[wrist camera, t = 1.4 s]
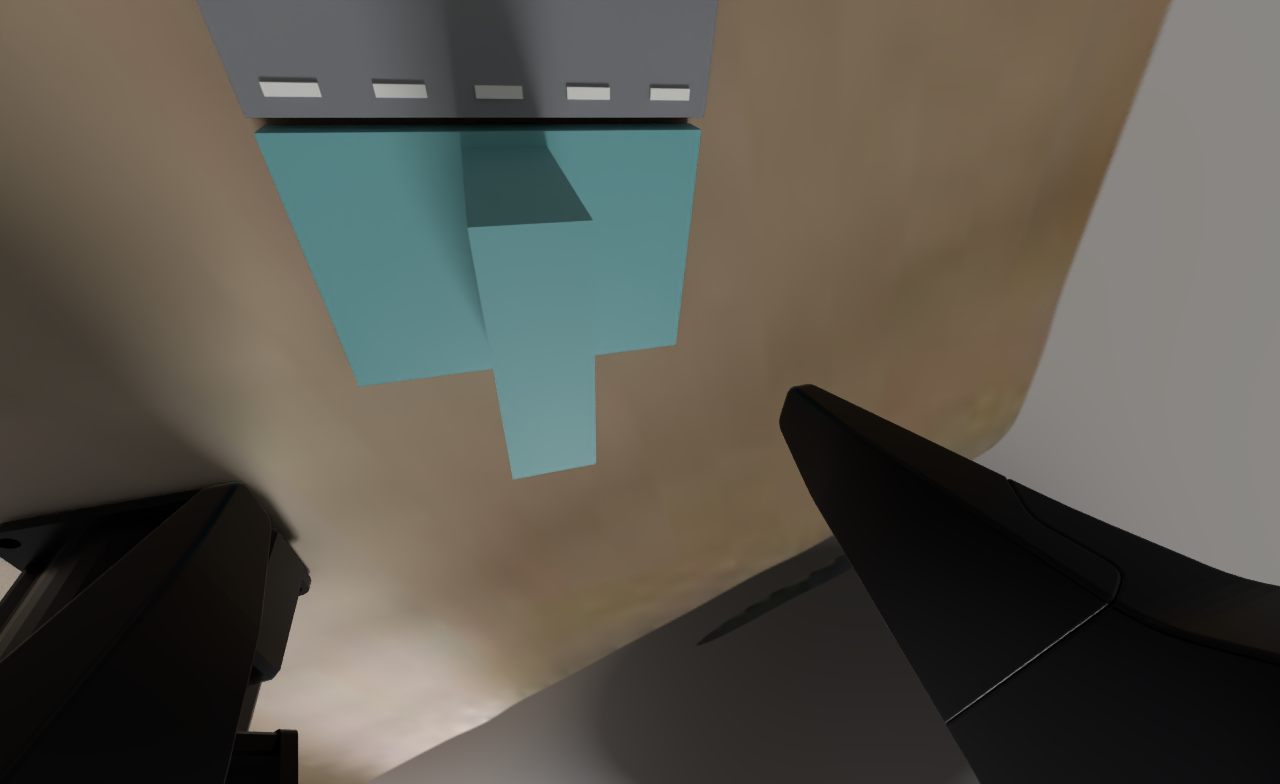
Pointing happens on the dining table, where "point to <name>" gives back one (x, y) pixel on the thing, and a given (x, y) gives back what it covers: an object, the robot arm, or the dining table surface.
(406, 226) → the stub
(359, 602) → the dining table surface
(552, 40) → the plate
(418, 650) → the dining table surface
